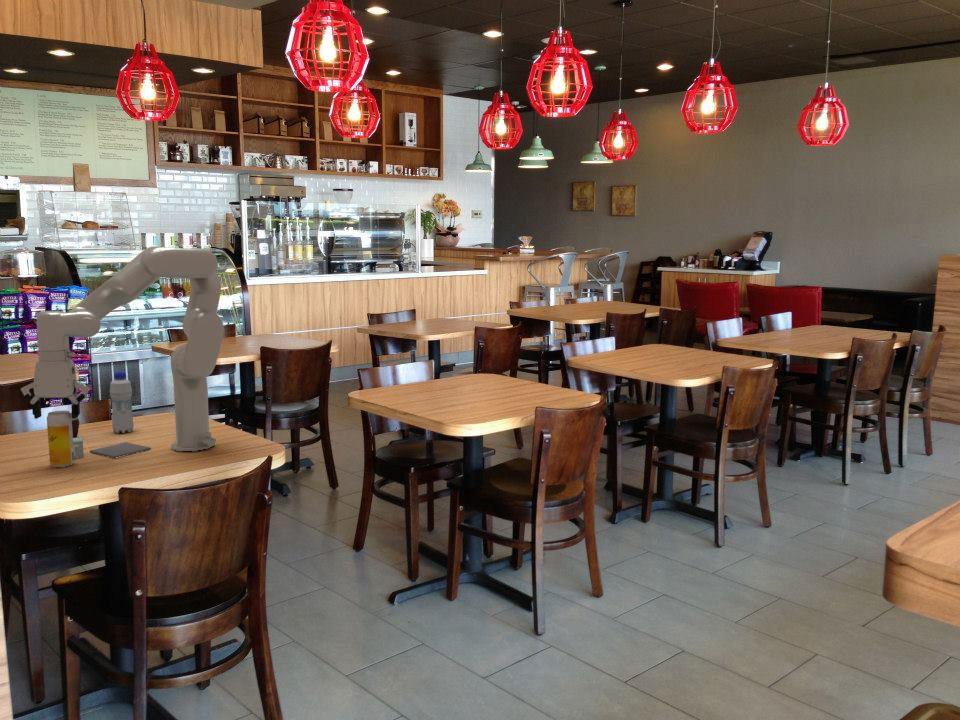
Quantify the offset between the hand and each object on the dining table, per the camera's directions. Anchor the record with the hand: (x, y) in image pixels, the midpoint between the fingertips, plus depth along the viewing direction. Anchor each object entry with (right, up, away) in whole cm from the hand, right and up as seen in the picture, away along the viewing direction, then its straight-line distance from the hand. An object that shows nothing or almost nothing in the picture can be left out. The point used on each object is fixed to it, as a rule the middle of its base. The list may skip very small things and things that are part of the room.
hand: (56, 417), depth 223 cm
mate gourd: (-12, -9, +31) cm, 35 cm away
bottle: (0, -8, +41) cm, 41 cm away
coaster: (+10, -11, +18) cm, 23 cm away
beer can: (0, -14, +2) cm, 14 cm away
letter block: (-1, -12, +11) cm, 17 cm away
